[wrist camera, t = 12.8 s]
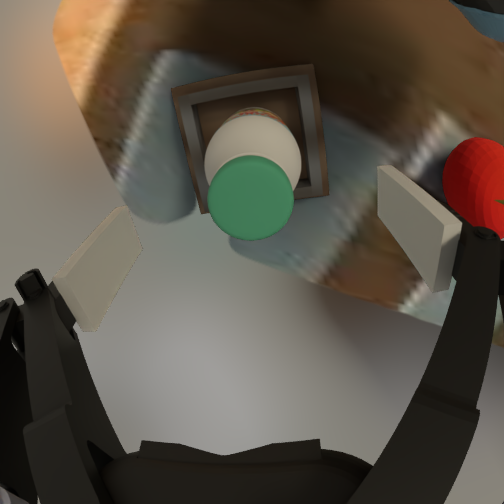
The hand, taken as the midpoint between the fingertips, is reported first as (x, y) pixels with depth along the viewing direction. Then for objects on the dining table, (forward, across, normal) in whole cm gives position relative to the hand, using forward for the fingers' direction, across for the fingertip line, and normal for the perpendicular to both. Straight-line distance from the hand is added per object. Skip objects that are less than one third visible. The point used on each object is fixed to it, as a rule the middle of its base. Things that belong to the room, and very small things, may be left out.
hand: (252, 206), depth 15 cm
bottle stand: (+22, 0, 0) cm, 22 cm away
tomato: (+22, +29, -8) cm, 37 cm away
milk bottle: (+21, 0, 0) cm, 21 cm away
